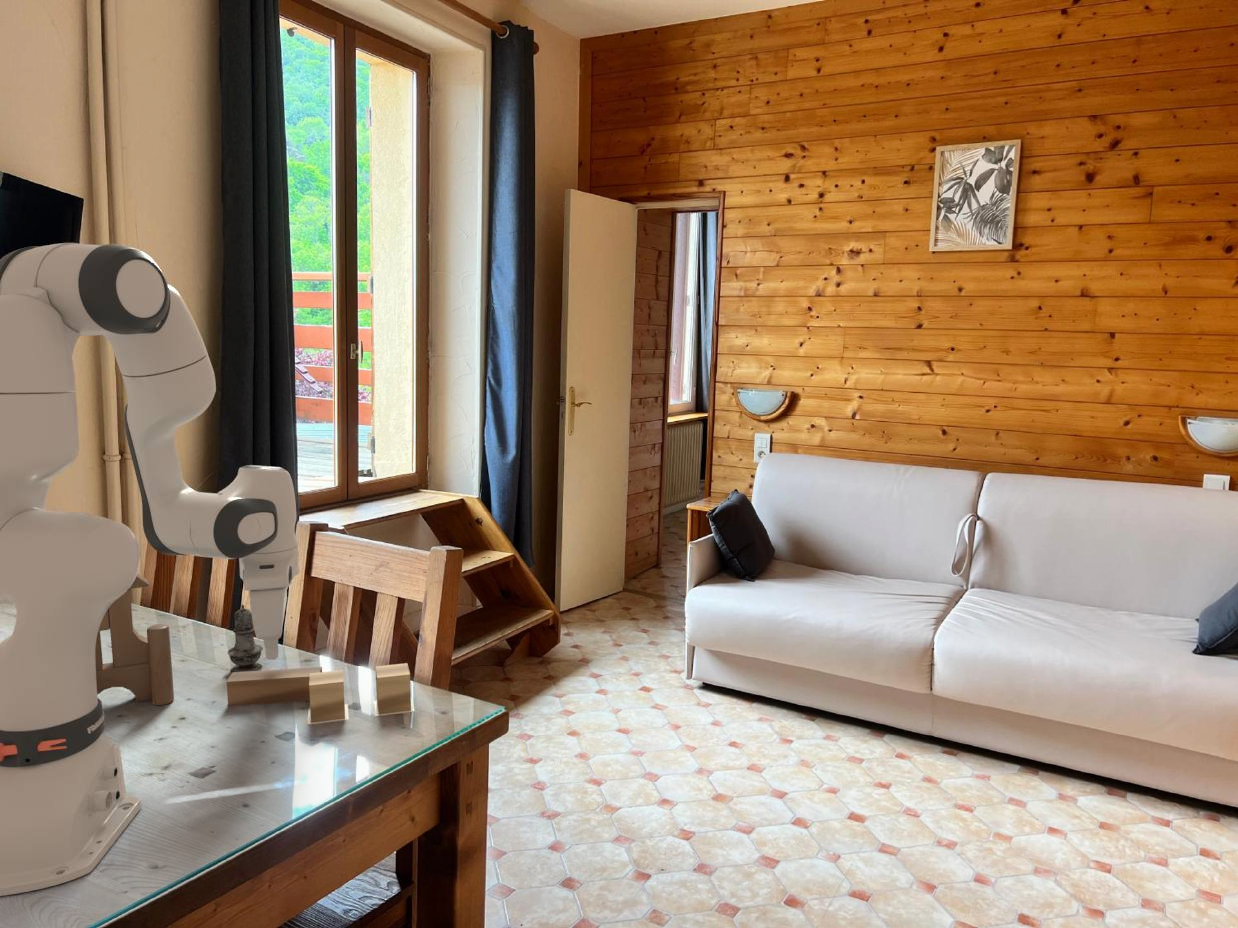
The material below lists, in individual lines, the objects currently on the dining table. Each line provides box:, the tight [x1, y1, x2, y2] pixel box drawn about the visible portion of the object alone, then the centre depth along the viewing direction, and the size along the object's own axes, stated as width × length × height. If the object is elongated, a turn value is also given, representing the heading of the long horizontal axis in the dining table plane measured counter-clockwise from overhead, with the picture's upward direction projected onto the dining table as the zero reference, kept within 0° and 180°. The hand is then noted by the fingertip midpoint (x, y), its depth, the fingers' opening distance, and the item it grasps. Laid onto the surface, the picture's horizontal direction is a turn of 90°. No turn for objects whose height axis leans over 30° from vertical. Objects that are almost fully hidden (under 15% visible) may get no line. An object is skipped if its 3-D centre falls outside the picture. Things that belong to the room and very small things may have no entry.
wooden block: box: [226, 666, 323, 707], centre depth 145 cm, size 4×14×5 cm, turn 101°
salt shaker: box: [227, 603, 264, 674], centre depth 158 cm, size 6×6×12 cm
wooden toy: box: [95, 573, 175, 706], centre depth 141 cm, size 15×7×25 cm, turn 120°
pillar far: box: [375, 662, 412, 714], centre depth 141 cm, size 5×5×6 cm
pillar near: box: [309, 669, 346, 723], centre depth 138 cm, size 5×5×6 cm
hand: (274, 647), depth 144 cm, fingers open, 8 cm apart
